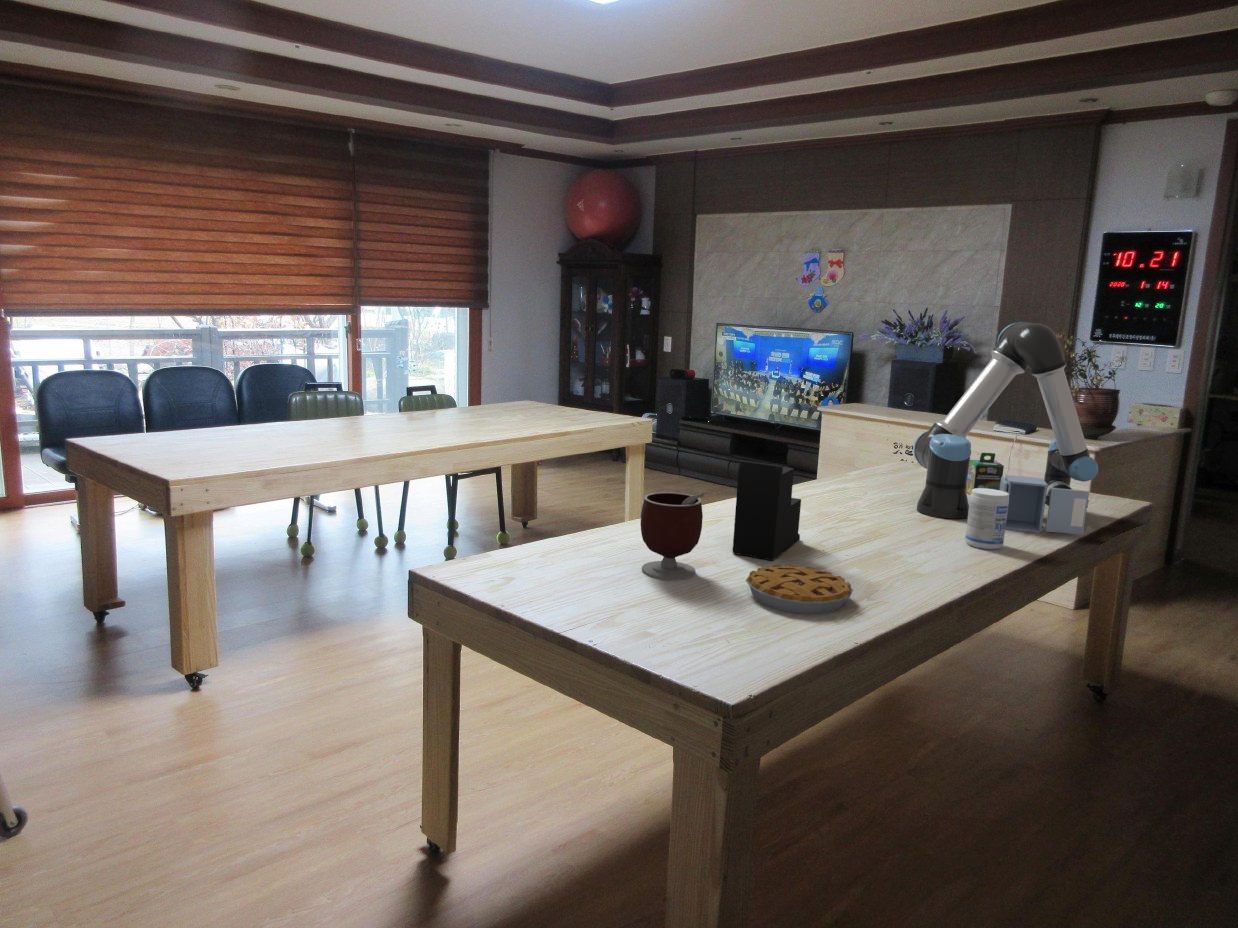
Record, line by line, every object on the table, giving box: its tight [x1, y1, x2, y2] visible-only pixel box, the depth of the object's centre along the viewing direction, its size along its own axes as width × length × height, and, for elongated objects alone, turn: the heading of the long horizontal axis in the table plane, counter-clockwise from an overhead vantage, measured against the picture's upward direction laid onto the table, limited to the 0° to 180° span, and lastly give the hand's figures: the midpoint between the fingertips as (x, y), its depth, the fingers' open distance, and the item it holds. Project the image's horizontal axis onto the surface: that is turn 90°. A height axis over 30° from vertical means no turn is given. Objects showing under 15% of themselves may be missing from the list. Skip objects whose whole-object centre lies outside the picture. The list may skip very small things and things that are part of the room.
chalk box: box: [966, 452, 1005, 496], centre depth 297 cm, size 9×9×15 cm
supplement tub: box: [964, 488, 1009, 550], centre depth 235 cm, size 10×10×15 cm
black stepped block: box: [732, 459, 802, 561], centre depth 223 cm, size 23×11×24 cm, turn 153°
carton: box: [1000, 474, 1048, 534], centre depth 257 cm, size 11×10×14 cm
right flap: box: [1045, 488, 1090, 535], centre depth 249 cm, size 10×1×12 cm, turn 77°
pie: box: [745, 564, 854, 615], centre depth 188 cm, size 22×22×5 cm
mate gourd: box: [640, 491, 705, 581], centre depth 200 cm, size 16×14×20 cm
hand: (1074, 513), depth 250 cm, fingers closed
